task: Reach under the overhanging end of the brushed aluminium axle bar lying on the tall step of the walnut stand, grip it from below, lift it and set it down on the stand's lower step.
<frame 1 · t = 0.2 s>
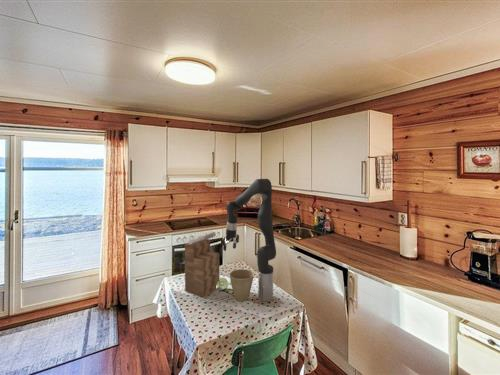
hand: (229, 249, 180), 22 cm above the table, fingers open, 8 cm apart
aluminium bar: (202, 239, 170), point 32 cm above the table, touching walnut stand
walnut stand: (202, 289, 166), on the table
plant pot: (241, 298, 155), on the table
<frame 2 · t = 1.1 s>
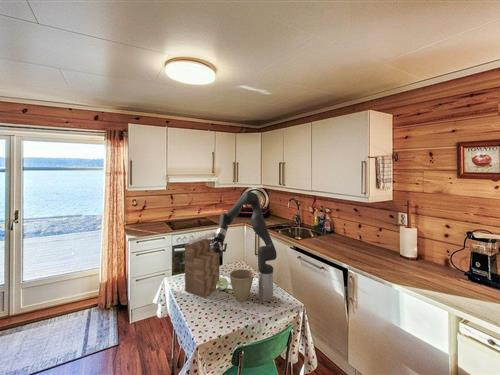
hand: (213, 254, 172), 21 cm above the table, fingers open, 8 cm apart
nothing on the table moved.
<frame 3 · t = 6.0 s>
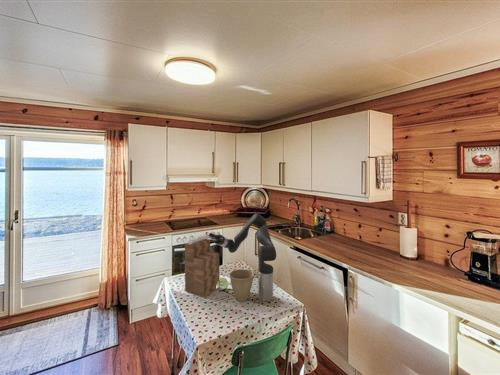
hand: (208, 233, 174), 35 cm above the table, fingers closed on aluminium bar, 3 cm apart
aluminium bar: (202, 239, 170), point 32 cm above the table, touching gripper, walnut stand
everything else where it was.
when the fingers open (28 cm above the table, at t = 11.7 s): aluminium bar drops 1 cm, resting on walnut stand.
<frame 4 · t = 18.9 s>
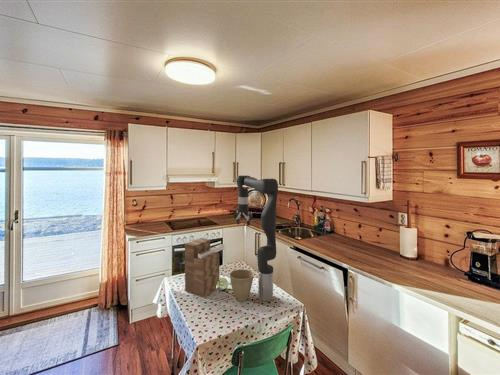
hand: (243, 225, 180), 40 cm above the table, fingers open, 8 cm apart
aluminium bar: (211, 253, 166), point 24 cm above the table, touching walnut stand
everything else where it was.
at the end: aluminium bar 0.1 cm from the target spot on the walnut stand, point 24.0 cm above the walnut stand's base; aluminium bar tilted 0°; the gripper is holding nothing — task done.
